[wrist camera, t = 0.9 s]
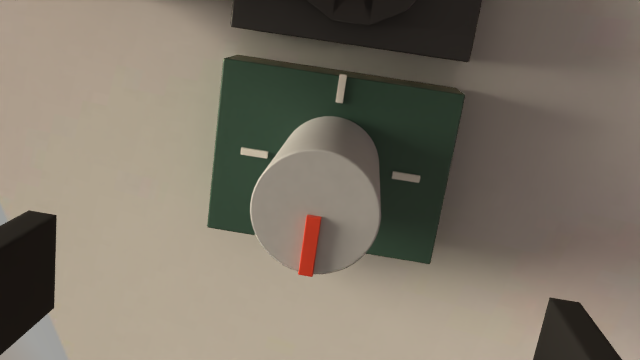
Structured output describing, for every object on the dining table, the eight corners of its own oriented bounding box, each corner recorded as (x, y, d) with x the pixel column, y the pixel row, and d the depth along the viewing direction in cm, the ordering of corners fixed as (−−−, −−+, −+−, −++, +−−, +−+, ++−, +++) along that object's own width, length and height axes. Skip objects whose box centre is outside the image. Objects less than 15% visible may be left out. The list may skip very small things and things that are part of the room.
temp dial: (287, 108, 30) (255, 141, 22) (386, 124, 29) (391, 162, 21) (275, 203, 31) (241, 266, 23) (370, 218, 31) (369, 287, 23)
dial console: (236, 52, 32) (222, 56, 29) (457, 86, 32) (466, 93, 29) (220, 212, 35) (205, 230, 32) (425, 245, 34) (430, 267, 31)
